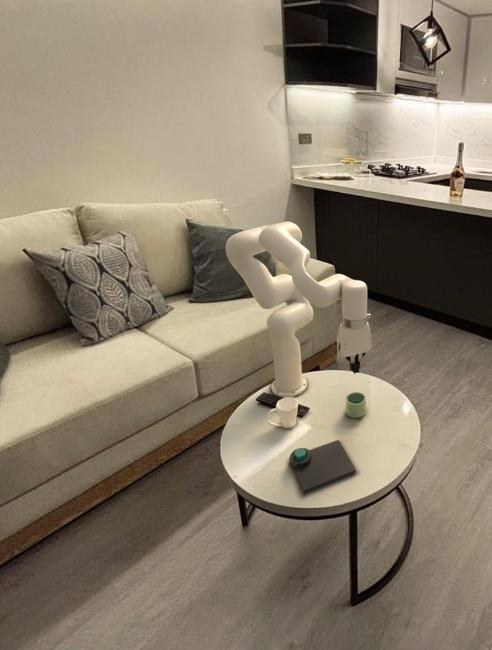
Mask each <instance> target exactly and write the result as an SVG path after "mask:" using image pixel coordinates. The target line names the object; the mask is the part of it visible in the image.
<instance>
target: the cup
mask: <svg viewBox="0 0 492 650" xmlns="http://www.w3.org/2000/svg"><path fill="white" fill-rule="evenodd" d="M298 408H299V400H298V399H296V398H295V396H293V397H282V398H281V399H279V400H278V401H277V402H276V405H275V407H274V408H271V409H270V410H269V411H268V412H267V415H266V420H267V422H268V424H270V425H271V426H274V427H279V428H281V427H283V428H284V429H291V428H293V427H295V426H296V423H297V421H296V420H297V416H298ZM273 412H277V415H278V418H279V421H280V423H274V422H271V421H270V420H269V418H270V415H271V414H272V413H273Z"/></svg>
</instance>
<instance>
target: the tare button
mask: <svg viewBox="0 0 492 650" xmlns="http://www.w3.org/2000/svg"><path fill="white" fill-rule="evenodd" d="M297 449H298V450H296V449H295V450H296V452H295V458H296V460H298V461H301V460H304V459H305V458H306V451H305V450H304V449H299V448H297Z"/></svg>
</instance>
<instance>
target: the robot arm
mask: <svg viewBox="0 0 492 650" xmlns="http://www.w3.org/2000/svg"><path fill="white" fill-rule="evenodd" d="M302 240H303V233H302V230H301V228H300V227H299V226H298V225H297V224H296V223H294V222H292V221H283V222H278V223H272V224H265V225H262V226H261V225H260V226H258V227H253V228H250V229H246V230H242V231H239V232H237V233H234V234H232V235H231V236H230V237H228V239H227V240H226V243H225V254H226V257H227V260H228V261H229V263H230V265H231V266H232V267H233V268H234V269H235V271H236V272H237V273H238V274H239V275H240V277H241V278H242V279H243V282H244V283H245V285H246V286H247V288H248V289H249V291H250V293H251V295H252V296H253V298H254V300H255V301H256V303H257V305H259V306H260V307H261V308H262V309H264V310H270V309H273V308H275V307H277V306H280V305H281V304H283V303H285V305H284V306H282V307H280V308H279V309H276V310H275V311H273V312H272V313H271V314H269V316H268V317H267V319H266V328H267V331H268V335H269V338H270V343H271V352H272V360H273V361H272V362H273V371H274V380H273V382H272V384H271V392H272V393H273V394H274V395H275V396H277V397H280V398H285V397H296V396H298V395H301V394H302V393H303V392H304V391H306V389H307V387H308V381H307V379H306V378H305V377H304V376H303V370H302V355H301V343H300V341H299V339H298V338H297V337H296V332H298V331H299V330H300V329H302V328H304V327H305V326H307V325H309V324H310V323H311V322H312V321H313V319H314V310H313V306H315V307H317V308H328V307H329V306H331V305H333V304H334V303H336V302H338V301H341V315H342V316H341V319H342V323H340V324H339V327H338V331H337V340H336V341H337V343H336V344H337V345H336V347H337V348H336V349H337V351H338V359H339V360H343V361H344V360H347V361H348V362H349V370H350V371H352V373H353V374H358V373H360V369H361V362H362V361H363V358H364V357H365V356H366V355H367V354H369V353H371V352H372V333H371V328H370V323H369V319H371V318H372V314H371V313H368V286H367V283H365V282H364V281H362V280H358V279H353V278H350V277H348V276H347V275H344V274H341V273H335V274H332V275H330V276H328V277H327V278H324V279H322V280H320V281H317V280H316V279H314V278H313V277H312V276H311V275H309V273H308V272H307V270H306V266H307V265H308V263H309V261H310V258H311V251H309V249H307V248H306V247H305V246H304V245H302V244H301V242H302ZM264 252H267V253H268V254H269V255H270V256H272V258H274V259H276V260H277V261H279V263H281V264H282V265H283V267H285V268H287V270H289V271H290V275H289V274H286V273H282V274H281V273H280V274H278V275H275V276H273V275H272V274H271V273H270V271H269V269H268V268H267V266H266V265H265V264H264V263H263V262H262V261H260V260H258V259H257V258H255V257H254V256H255V255H259V254H262V253H264ZM312 305H313V306H312Z"/></svg>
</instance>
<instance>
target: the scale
mask: <svg viewBox="0 0 492 650" xmlns="http://www.w3.org/2000/svg"><path fill="white" fill-rule="evenodd" d="M298 449H304V450H305V451H306V458H305V459H304V460H301V461H298V460H296V458H295V452H296V450H298ZM289 464H290V466H291V467H292V469H293V472H294V474H295V476H296V479H297V481H298V484H299V486H300V488H301V489H300V490H302V493H303V495H306V494H308V493H310V492H313V491H315V490H318V489H320V488H323V487H325V486H328V485H330V484H333V483H336V482H337V481H340V480H343V479H345V478H348V477H350V476H353V475H355V474H356V473H357V470H356V467H355V466H354V464H353V462H352V460H351V459H350V457H349V455H348V453H347V452H346V450H345V449H344V447H343V445H342V443H341V442H340V440H339V439H337V440H334V441H331V442H329V443H325V444H322V445H320V446H317V447H314V448H312V449H308V448H306V447H299V448H296V449H294V450H293V451H292V452H290V455H289Z"/></svg>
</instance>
